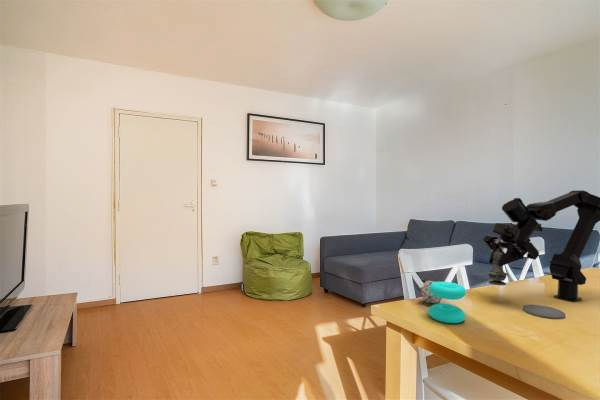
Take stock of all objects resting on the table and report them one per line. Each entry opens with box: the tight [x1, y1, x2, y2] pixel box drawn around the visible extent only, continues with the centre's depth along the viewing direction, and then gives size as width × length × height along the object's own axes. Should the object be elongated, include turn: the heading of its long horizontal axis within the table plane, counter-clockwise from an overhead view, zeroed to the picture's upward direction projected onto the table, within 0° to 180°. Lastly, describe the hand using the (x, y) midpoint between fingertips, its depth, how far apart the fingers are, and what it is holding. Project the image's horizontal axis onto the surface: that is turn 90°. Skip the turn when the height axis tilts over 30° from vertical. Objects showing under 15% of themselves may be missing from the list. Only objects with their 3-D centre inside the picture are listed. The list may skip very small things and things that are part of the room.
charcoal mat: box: [522, 304, 566, 320], centre depth 108 cm, size 11×11×1 cm
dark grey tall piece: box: [487, 249, 508, 286], centre depth 117 cm, size 6×6×12 cm
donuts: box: [428, 281, 467, 324], centre depth 101 cm, size 10×10×10 cm
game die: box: [417, 278, 443, 304], centre depth 114 cm, size 9×8×10 cm
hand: (494, 264), depth 117 cm, fingers closed on dark grey tall piece, 3 cm apart
